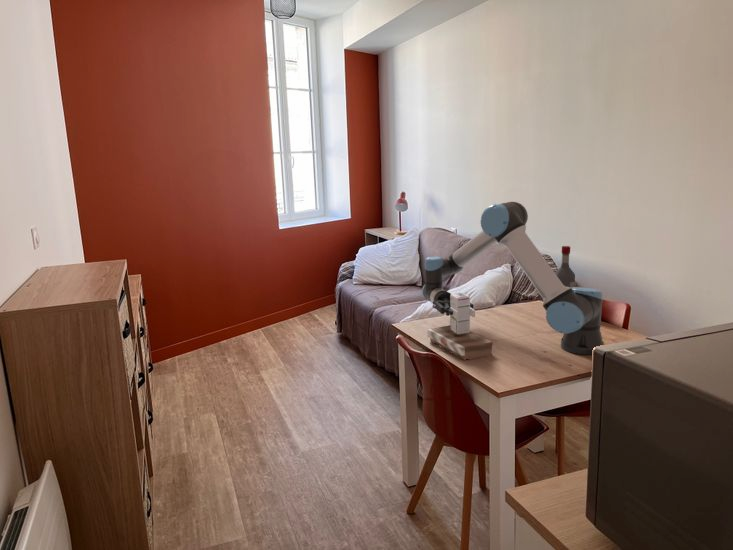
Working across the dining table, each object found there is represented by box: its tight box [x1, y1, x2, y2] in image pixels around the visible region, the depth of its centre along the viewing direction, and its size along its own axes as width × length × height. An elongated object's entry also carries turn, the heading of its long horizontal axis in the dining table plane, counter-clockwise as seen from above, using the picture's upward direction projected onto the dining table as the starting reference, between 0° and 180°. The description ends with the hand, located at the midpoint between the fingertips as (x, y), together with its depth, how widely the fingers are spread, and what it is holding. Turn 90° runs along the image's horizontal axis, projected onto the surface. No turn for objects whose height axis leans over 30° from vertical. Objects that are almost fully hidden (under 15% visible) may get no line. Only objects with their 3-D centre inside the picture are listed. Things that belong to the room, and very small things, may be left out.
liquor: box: [554, 245, 576, 288], centre depth 247 cm, size 9×9×30 cm
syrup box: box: [449, 292, 471, 334], centre depth 202 cm, size 6×6×14 cm
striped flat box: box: [427, 324, 493, 361], centre depth 204 cm, size 24×14×5 cm, turn 24°
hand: (465, 314), depth 196 cm, fingers closed on syrup box, 6 cm apart
